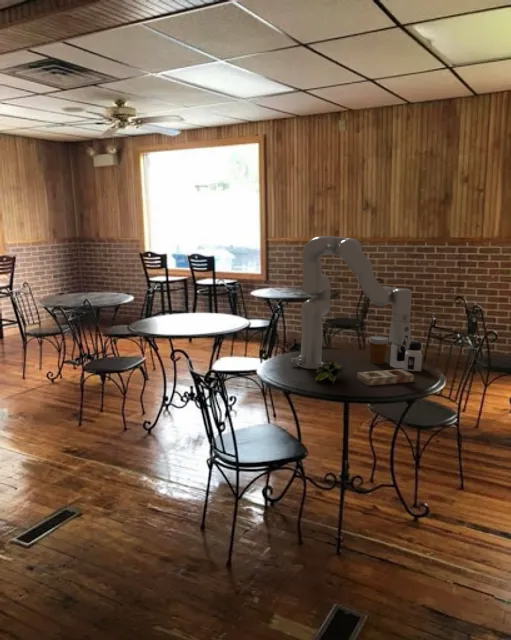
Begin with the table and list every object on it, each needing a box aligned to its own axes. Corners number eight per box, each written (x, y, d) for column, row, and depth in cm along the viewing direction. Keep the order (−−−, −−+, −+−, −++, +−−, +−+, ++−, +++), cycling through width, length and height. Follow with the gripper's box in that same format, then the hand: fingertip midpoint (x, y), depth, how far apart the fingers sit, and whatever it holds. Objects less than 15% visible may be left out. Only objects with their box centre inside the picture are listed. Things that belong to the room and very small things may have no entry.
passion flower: (328, 391, 230) (343, 367, 231) (337, 394, 219) (352, 370, 220) (308, 377, 228) (323, 353, 229) (315, 380, 217) (331, 355, 219)
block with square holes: (367, 385, 221) (367, 378, 220) (356, 379, 229) (357, 372, 229) (413, 381, 228) (413, 374, 227) (401, 375, 236) (401, 369, 236)
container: (421, 371, 243) (423, 344, 240) (403, 370, 244) (405, 342, 242) (419, 367, 250) (421, 340, 248) (402, 365, 252) (404, 339, 249)
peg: (395, 368, 226) (397, 345, 224) (389, 365, 230) (391, 343, 229) (404, 367, 228) (406, 344, 226) (398, 364, 232) (400, 342, 230)
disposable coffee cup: (363, 362, 256) (365, 338, 254) (371, 358, 264) (373, 334, 262) (382, 365, 251) (384, 341, 249) (390, 361, 259) (391, 337, 256)
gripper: (420, 321, 218) (416, 364, 222) (397, 313, 234) (394, 354, 237) (404, 322, 216) (400, 365, 219) (382, 314, 232) (379, 355, 235)
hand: (397, 359), depth 228 cm, fingers closed on peg, 4 cm apart
